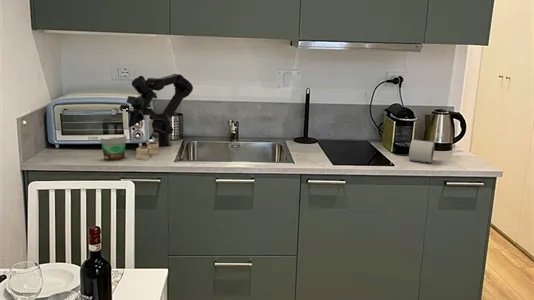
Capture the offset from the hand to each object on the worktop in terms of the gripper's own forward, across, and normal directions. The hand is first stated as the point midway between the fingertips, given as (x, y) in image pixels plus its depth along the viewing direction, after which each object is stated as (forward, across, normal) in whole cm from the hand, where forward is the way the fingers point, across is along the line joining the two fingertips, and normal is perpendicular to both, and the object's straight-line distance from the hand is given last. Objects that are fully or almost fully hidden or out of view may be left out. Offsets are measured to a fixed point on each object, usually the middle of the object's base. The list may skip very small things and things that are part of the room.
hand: (129, 126), depth 241 cm
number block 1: (+10, +9, +9) cm, 16 cm away
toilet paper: (-39, +119, +59) cm, 139 cm away
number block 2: (+4, +6, +16) cm, 17 cm away
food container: (+16, 0, +3) cm, 16 cm away
